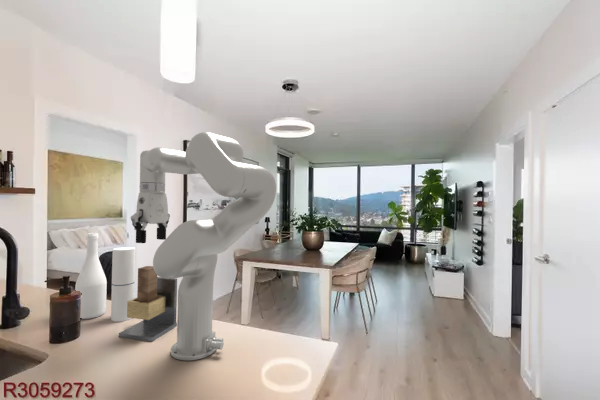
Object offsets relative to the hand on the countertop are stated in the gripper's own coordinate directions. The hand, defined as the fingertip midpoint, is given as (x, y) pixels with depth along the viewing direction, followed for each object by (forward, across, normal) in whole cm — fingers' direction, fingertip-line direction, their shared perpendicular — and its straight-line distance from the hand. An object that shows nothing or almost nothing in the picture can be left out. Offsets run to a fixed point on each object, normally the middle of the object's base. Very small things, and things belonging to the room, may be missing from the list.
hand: (151, 241), depth 99 cm
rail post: (+22, -1, 0) cm, 22 cm away
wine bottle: (+29, +7, +30) cm, 43 cm away
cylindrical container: (+29, +7, +17) cm, 35 cm away
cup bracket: (+29, 0, 0) cm, 29 cm away
